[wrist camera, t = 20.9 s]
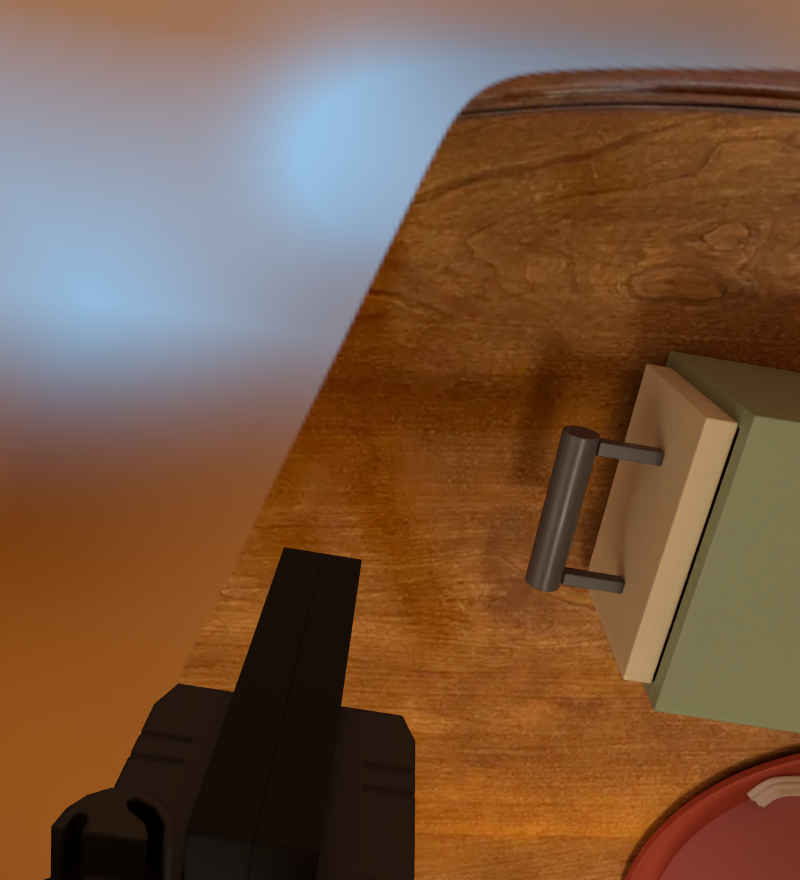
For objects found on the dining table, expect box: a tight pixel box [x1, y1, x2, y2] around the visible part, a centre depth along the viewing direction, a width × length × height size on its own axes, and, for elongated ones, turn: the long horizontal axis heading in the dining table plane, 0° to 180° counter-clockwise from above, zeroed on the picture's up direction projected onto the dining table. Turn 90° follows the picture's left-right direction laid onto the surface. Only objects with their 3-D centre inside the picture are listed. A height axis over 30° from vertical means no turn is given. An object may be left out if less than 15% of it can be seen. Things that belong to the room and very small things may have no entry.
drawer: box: [525, 364, 740, 683], centre depth 33 cm, size 19×11×8 cm, turn 81°
